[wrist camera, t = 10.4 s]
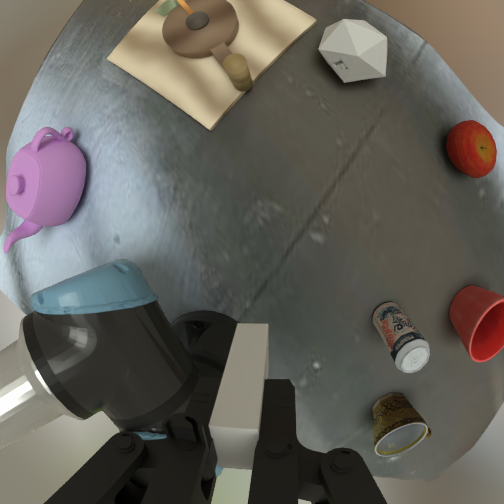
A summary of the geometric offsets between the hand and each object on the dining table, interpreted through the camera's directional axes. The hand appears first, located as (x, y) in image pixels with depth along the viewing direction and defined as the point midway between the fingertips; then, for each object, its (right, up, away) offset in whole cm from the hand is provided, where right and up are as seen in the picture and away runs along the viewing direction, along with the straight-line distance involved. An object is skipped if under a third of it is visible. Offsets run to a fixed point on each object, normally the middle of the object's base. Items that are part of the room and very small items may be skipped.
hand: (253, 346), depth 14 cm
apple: (+30, +20, +17) cm, 40 cm away
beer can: (+20, -5, +25) cm, 32 cm away
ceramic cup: (+28, -25, +30) cm, 48 cm away
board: (-7, +35, +16) cm, 39 cm away
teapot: (-32, +16, +24) cm, 43 cm away
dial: (-5, +32, +15) cm, 36 cm away
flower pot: (+36, -4, +23) cm, 43 cm away
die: (+13, +30, +16) cm, 37 cm away
